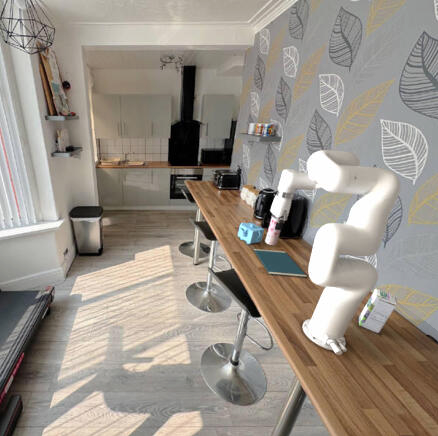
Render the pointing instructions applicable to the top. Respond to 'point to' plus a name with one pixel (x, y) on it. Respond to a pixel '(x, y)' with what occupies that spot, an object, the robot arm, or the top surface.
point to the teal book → (279, 263)
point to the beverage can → (272, 232)
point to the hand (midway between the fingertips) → (275, 226)
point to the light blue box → (250, 233)
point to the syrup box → (377, 310)
